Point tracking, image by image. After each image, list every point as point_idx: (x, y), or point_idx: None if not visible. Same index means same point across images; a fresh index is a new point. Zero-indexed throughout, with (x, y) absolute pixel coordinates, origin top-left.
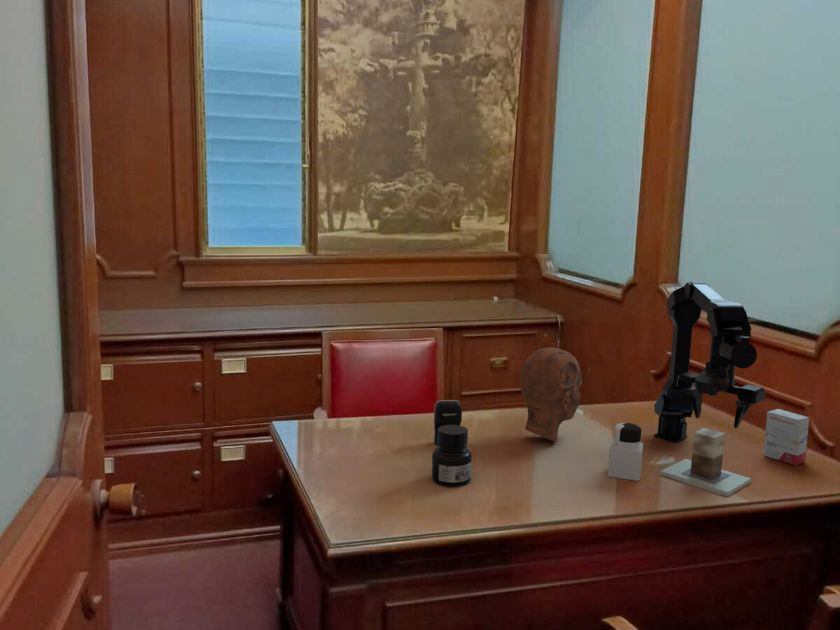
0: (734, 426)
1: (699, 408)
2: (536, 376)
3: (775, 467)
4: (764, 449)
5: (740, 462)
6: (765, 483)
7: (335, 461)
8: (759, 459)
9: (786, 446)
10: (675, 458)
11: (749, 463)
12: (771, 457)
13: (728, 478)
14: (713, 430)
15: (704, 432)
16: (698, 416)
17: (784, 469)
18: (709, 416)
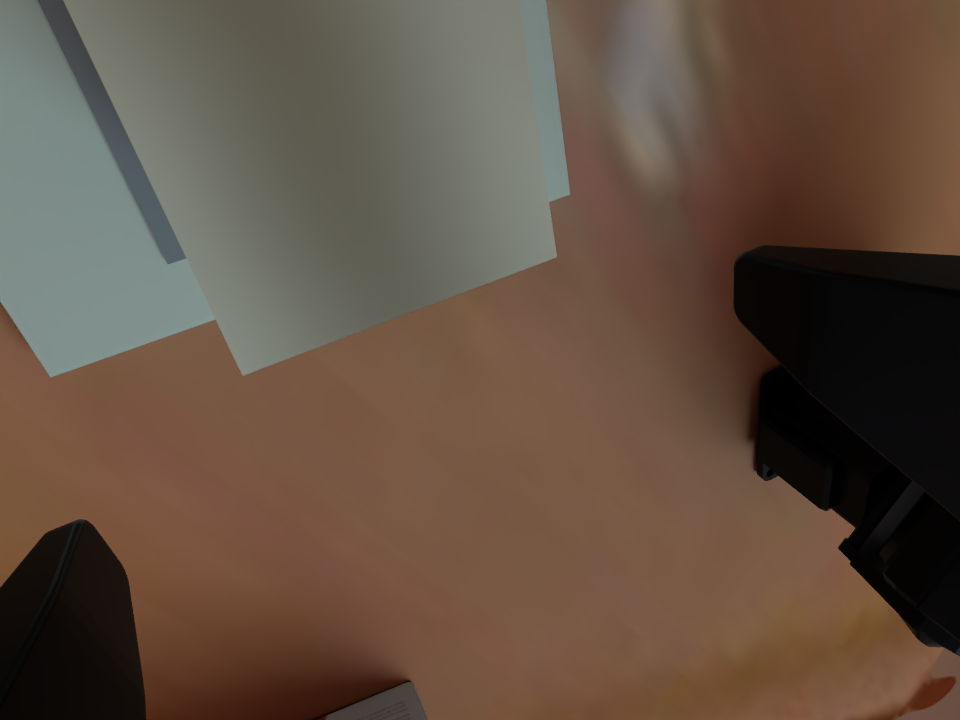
0: (63, 532)
1: (868, 377)
2: None
3: (248, 656)
4: (420, 710)
5: (393, 522)
6: (7, 454)
7: None
8: (380, 637)
9: None
10: (636, 183)
11: (359, 559)
12: (367, 700)
13: (108, 194)
14: (416, 299)
15: (408, 68)
16: (753, 295)
17: (202, 684)
18: (800, 683)
